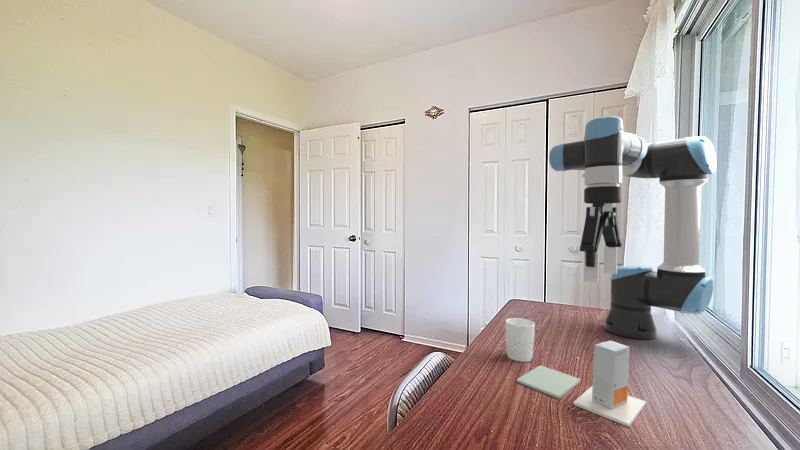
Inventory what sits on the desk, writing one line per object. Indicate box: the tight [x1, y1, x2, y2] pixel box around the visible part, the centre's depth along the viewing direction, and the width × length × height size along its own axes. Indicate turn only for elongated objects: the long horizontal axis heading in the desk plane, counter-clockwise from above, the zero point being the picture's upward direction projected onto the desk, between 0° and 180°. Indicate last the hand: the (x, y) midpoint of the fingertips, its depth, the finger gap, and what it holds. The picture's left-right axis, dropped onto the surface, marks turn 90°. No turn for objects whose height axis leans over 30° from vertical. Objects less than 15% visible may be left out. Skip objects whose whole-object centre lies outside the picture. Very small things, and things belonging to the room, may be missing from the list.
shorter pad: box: [516, 364, 582, 400], centre depth 81 cm, size 12×10×1 cm
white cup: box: [505, 317, 536, 363], centre depth 95 cm, size 8×8×10 cm
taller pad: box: [573, 384, 647, 428], centre depth 71 cm, size 12×10×1 cm
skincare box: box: [592, 340, 630, 409], centre depth 71 cm, size 6×4×12 cm
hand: (601, 277), depth 79 cm, fingers open, 13 cm apart
